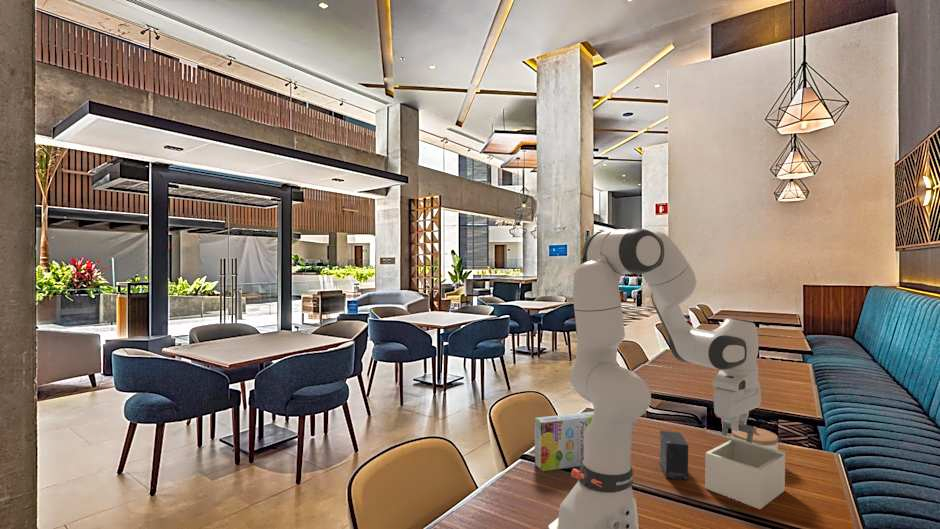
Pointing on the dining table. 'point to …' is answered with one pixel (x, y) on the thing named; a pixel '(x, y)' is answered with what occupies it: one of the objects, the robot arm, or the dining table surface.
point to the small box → (673, 455)
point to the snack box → (560, 440)
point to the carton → (745, 473)
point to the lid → (743, 428)
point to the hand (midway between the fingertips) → (738, 428)
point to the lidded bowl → (759, 437)
